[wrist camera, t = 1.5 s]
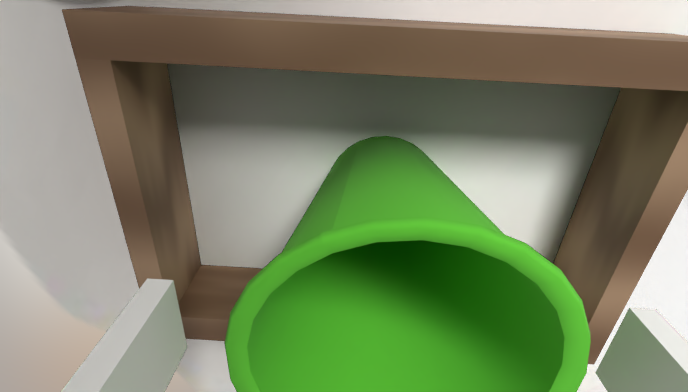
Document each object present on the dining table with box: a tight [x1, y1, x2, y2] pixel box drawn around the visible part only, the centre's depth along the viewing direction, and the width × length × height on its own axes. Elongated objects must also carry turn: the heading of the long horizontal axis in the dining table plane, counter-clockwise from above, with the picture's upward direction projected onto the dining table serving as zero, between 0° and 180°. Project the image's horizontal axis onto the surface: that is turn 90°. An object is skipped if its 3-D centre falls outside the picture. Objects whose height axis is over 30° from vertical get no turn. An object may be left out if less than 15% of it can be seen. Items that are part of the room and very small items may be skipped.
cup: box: [225, 136, 591, 392], centre depth 14 cm, size 9×9×11 cm
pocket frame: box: [62, 6, 688, 364], centre depth 17 cm, size 15×22×4 cm
